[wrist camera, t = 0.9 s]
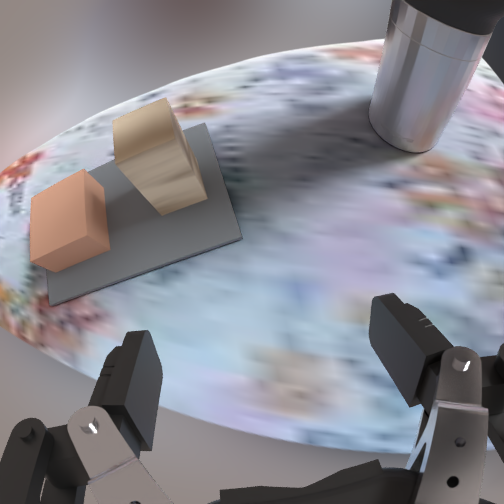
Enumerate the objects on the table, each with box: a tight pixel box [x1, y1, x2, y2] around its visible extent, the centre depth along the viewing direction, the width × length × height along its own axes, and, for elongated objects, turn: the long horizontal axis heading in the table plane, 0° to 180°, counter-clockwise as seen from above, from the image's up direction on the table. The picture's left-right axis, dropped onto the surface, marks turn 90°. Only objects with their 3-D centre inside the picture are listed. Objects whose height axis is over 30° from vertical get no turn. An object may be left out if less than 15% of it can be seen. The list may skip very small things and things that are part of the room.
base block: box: [30, 169, 110, 273], centre depth 30 cm, size 8×8×4 cm
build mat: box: [46, 123, 243, 306], centre depth 32 cm, size 15×23×1 cm, turn 108°
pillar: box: [113, 97, 208, 216], centre depth 27 cm, size 5×5×10 cm
